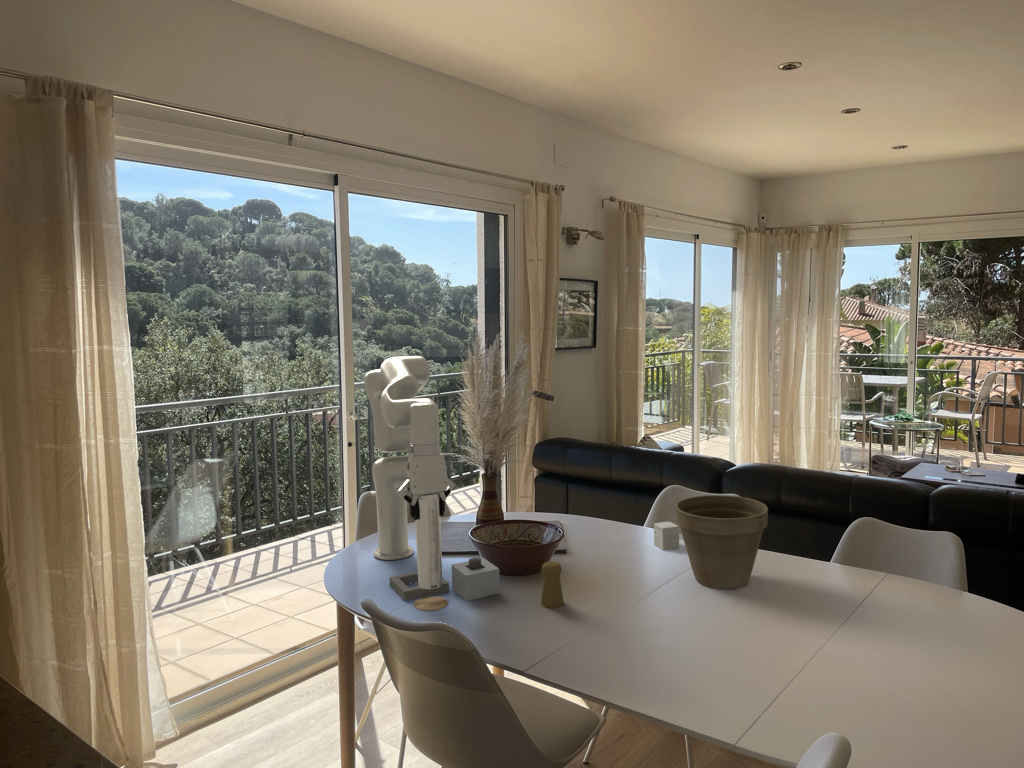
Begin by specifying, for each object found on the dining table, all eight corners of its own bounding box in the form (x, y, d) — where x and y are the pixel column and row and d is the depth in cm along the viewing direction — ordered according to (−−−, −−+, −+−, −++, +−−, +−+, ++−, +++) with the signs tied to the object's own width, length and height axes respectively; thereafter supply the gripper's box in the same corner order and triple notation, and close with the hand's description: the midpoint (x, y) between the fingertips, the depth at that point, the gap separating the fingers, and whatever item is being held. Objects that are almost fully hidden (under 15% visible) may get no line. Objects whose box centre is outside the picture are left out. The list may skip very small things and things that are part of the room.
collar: (389, 585, 208) (389, 576, 208) (432, 576, 214) (432, 568, 213) (404, 600, 196) (404, 591, 196) (449, 591, 202) (448, 582, 202)
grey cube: (653, 544, 238) (653, 523, 237) (670, 542, 240) (670, 521, 239) (662, 550, 232) (662, 528, 231) (679, 548, 234) (679, 526, 233)
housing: (452, 588, 204) (451, 564, 203) (484, 581, 209) (483, 558, 208) (466, 600, 195) (465, 575, 195) (499, 593, 200) (499, 568, 199)
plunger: (467, 573, 202) (466, 559, 202) (478, 570, 204) (477, 557, 203) (472, 577, 199) (471, 562, 199) (483, 574, 201) (483, 560, 200)
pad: (409, 601, 196) (409, 600, 196) (440, 594, 200) (440, 593, 200) (420, 613, 188) (420, 612, 188) (453, 606, 192) (453, 605, 192)
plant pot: (667, 590, 199) (667, 513, 197) (682, 561, 222) (682, 491, 219) (764, 602, 190) (765, 521, 187) (769, 570, 212) (770, 497, 210)
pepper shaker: (566, 600, 194) (565, 560, 193) (560, 609, 189) (559, 567, 187) (544, 597, 196) (543, 558, 195) (537, 606, 190) (537, 565, 189)
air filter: (444, 580, 196) (441, 489, 194) (440, 589, 190) (436, 495, 187) (421, 580, 197) (417, 489, 194) (415, 589, 190) (411, 495, 188)
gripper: (397, 455, 182) (400, 525, 184) (461, 448, 190) (463, 515, 192) (388, 450, 189) (391, 518, 191) (450, 444, 197) (452, 508, 199)
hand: (427, 516), depth 191 cm, fingers closed on air filter, 6 cm apart
